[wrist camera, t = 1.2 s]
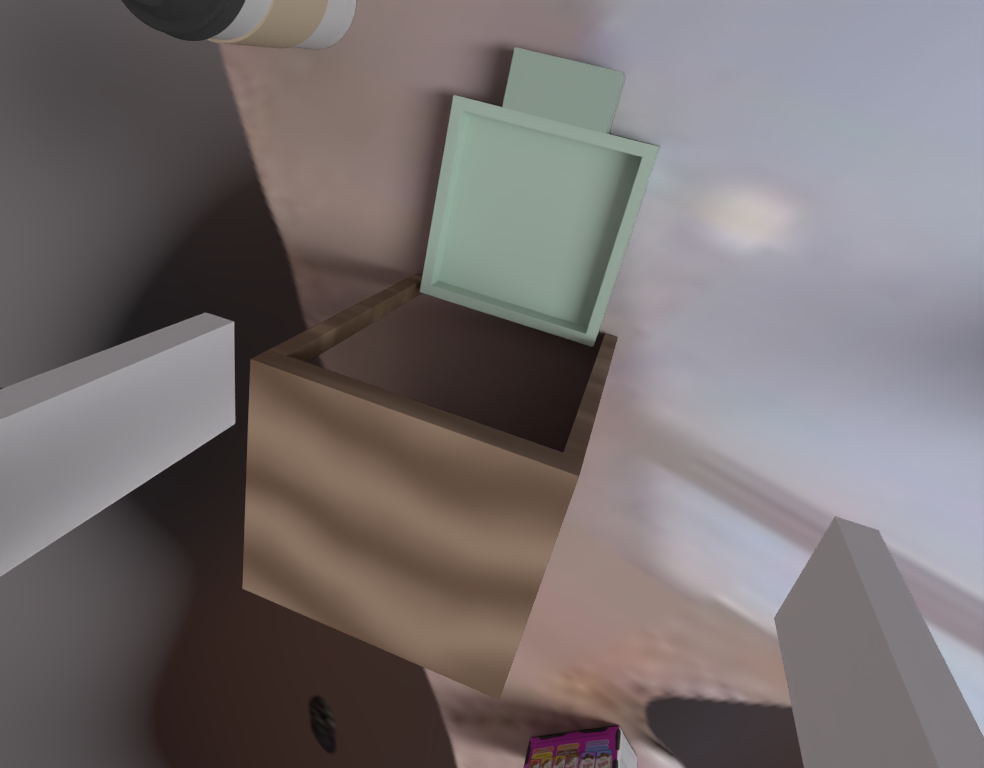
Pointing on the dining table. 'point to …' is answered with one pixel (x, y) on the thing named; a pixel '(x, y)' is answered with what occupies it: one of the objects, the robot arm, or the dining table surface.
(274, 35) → the coffee cup
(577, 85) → the tray
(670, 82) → the dining table surface
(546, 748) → the candy bar box
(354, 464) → the hollow wooden crate
